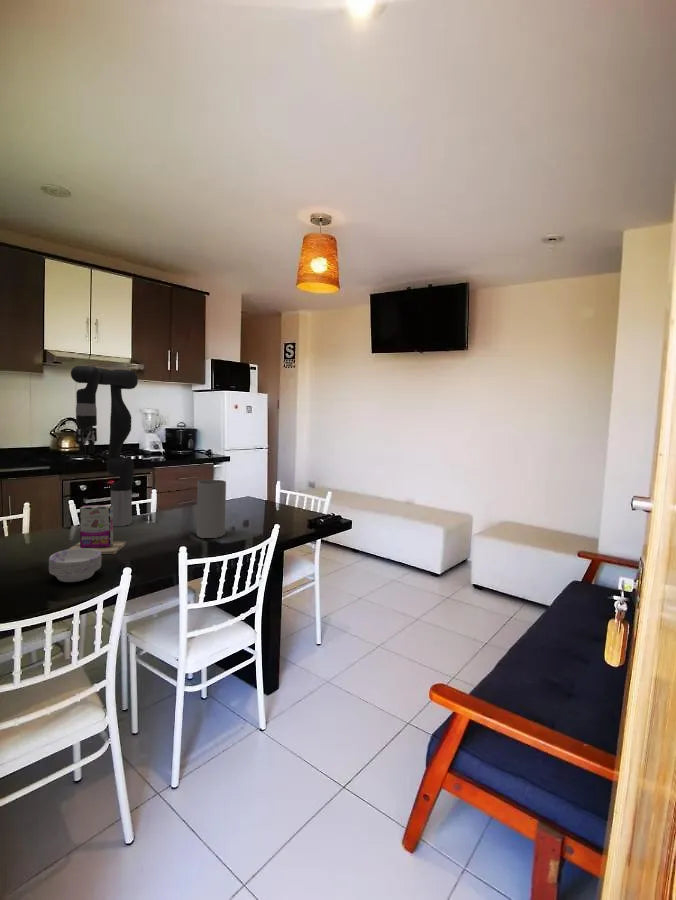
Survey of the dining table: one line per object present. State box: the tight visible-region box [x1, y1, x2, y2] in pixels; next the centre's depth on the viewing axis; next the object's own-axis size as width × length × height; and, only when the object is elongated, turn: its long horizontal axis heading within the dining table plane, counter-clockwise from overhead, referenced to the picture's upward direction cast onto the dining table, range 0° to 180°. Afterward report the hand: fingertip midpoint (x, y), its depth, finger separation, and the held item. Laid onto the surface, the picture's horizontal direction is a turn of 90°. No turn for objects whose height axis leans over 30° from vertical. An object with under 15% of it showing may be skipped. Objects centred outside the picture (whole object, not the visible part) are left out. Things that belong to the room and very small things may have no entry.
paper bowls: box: [48, 548, 102, 583], centre depth 150 cm, size 15×15×8 cm
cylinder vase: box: [196, 479, 227, 539], centre depth 205 cm, size 12×12×25 cm
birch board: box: [67, 540, 128, 555], centre depth 180 cm, size 14×18×1 cm
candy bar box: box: [79, 504, 114, 548], centre depth 180 cm, size 11×5×16 cm, turn 104°
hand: (87, 453), depth 188 cm, fingers open, 8 cm apart
